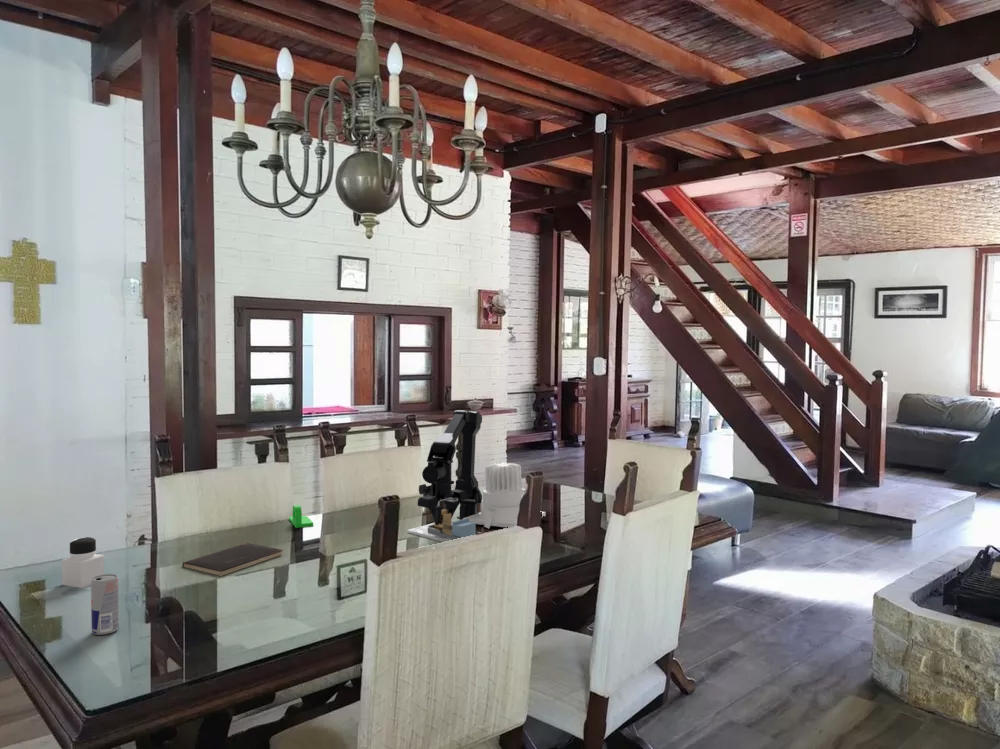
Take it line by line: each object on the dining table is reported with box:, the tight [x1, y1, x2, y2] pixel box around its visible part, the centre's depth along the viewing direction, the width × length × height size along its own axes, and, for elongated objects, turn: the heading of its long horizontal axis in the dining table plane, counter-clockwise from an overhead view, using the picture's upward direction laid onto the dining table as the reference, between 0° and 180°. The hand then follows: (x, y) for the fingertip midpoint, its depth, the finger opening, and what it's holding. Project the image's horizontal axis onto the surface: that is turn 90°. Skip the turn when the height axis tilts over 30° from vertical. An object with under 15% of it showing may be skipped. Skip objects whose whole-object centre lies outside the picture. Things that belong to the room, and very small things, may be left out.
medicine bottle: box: [61, 536, 105, 589], centre depth 193 cm, size 7×7×12 cm
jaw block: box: [433, 508, 452, 533], centre depth 245 cm, size 4×4×7 cm
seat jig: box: [406, 522, 481, 543], centre depth 245 cm, size 14×22×3 cm, turn 50°
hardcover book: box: [182, 542, 284, 577], centre depth 214 cm, size 16×23×2 cm
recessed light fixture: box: [463, 461, 546, 529], centre depth 262 cm, size 25×22×21 cm
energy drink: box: [90, 573, 120, 636], centre depth 162 cm, size 5×5×12 cm
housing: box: [451, 518, 477, 537], centre depth 239 cm, size 7×4×5 cm, turn 140°
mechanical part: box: [288, 504, 314, 529], centre depth 257 cm, size 12×6×8 cm, turn 27°
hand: (442, 523), depth 245 cm, fingers open, 5 cm apart
